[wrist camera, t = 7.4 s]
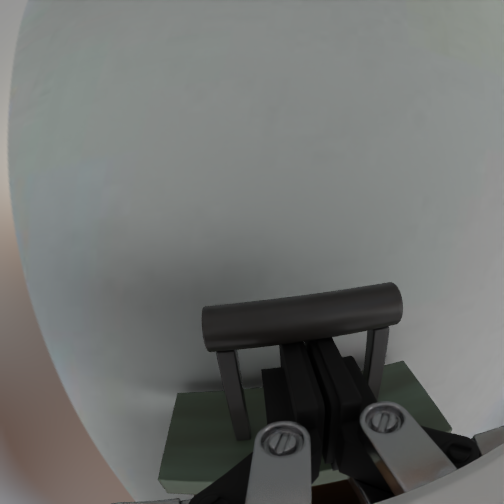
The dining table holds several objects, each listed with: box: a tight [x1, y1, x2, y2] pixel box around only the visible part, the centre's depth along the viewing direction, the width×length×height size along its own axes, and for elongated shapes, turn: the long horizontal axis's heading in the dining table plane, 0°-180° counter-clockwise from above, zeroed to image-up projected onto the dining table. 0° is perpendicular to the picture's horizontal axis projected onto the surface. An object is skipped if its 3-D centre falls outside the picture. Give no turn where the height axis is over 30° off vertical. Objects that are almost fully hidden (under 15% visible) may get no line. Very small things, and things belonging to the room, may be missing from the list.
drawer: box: [158, 282, 452, 504], centre depth 12 cm, size 21×11×5 cm, turn 6°
